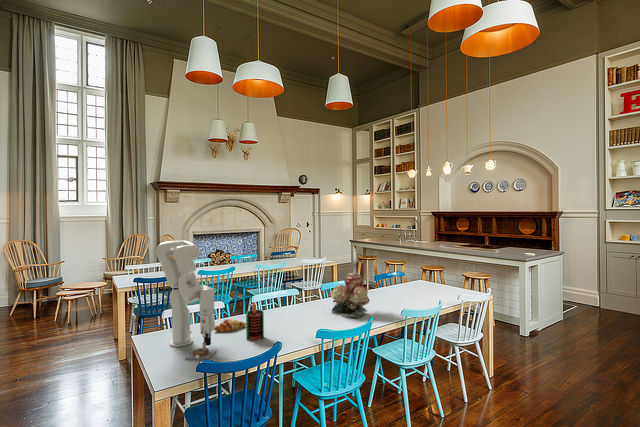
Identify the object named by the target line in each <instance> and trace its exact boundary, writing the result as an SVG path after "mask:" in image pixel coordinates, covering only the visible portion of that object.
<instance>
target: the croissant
mask: <svg viewBox="0 0 640 427" xmlns="http://www.w3.org/2000/svg"><path fill="white" fill-rule="evenodd" d="M244 327H246V322H244V321H240V320H237V319H235V320H233V319H230V318H228V319H225V320H224V321H223V322H220V323H219V325H215V329H214V330H213V331H216V332H219V333H227V332H233V331H237V330H239V329H242V328H244Z"/></svg>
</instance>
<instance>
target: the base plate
mask: <svg viewBox="0 0 640 427" xmlns="http://www.w3.org/2000/svg"><path fill="white" fill-rule="evenodd" d="M193 351H195V349H193V350H191V352H189V353H188V354H187V355H186V356H185V361H186V360H187V361H192V360H193V361H206V360H205V359H208V360H207V361H209V360H211V359H212V358H213V356H214V355H215V354H216V353H217V350H216V349H209V353H208V354H207V355H204V356H200V357H199V355H196V357H195V356H193ZM210 358H211V359H210Z"/></svg>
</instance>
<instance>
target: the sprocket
mask: <svg viewBox="0 0 640 427" xmlns="http://www.w3.org/2000/svg"><path fill="white" fill-rule="evenodd" d="M194 350H195V351H193V350H192V351H193V356H195V357H196V355H199V357H200V356H204V355H207V354H208V353H209V350H210V349H209V348H208V347H207V345H206V342H204V341H203V342H202V347H201V348H200V347H198V348H196V349H194Z"/></svg>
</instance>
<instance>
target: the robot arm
mask: <svg viewBox="0 0 640 427" xmlns="http://www.w3.org/2000/svg"><path fill="white" fill-rule="evenodd" d="M199 255H200V250H199V247H198V246H197V245H196V244H194V243H192V242H189V241H187V240H171V241H164V242H161V243H160V244H158V245H157V247H156V257H157V259H158V262H159V263H160V264H161V267H162V270H163V273H164V276H165V279H166V281H167V282H166V283H167V284H168V286H169V287H170V288H174V290H172V291H171V292H170V294H169V301H170V306H171V325H172V326H171V328H172V329H171V330H172V331H171V332H172V339H171V340H170V341H169V346H171V347H173V348H174V347H176V348H179V347H185V346H189V345H190V344H192V343H193V342H194V338H193V337H191V334H192V330H191V319H190V318H191V317H190V315H191V314H190V309H189V308H188V306H187V304H191V303H195V302H197V301H199V316H200V325H199V327H200V328H199V330H200V331H199V332H200V334H201V335H202V338H203V342H206V346H210V345H211V344H212V337H211V336H212V332H213V331H215V330H214V329H215V327H216V322H215V321H216V319H215V318H216V317H215V290H214V288H213V287H210V286H207V285H206V284H199V283H198V279H197V277H196V274H195V271H196V269H197V265H196V263H195V261H194V259H198V257H199ZM172 256H173V257H172ZM175 288H176V289H175Z"/></svg>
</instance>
